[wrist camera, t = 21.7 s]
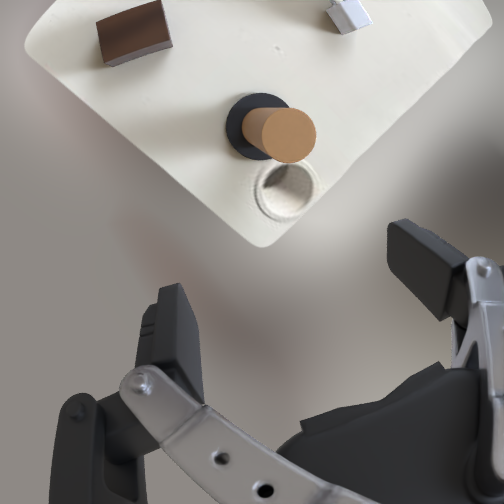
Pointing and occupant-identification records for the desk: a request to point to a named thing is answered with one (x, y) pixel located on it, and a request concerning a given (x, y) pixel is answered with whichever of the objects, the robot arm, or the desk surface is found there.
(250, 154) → the coaster
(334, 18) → the usb wall charger
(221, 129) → the desk surface
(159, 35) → the walnut block
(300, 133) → the tan cylinder
